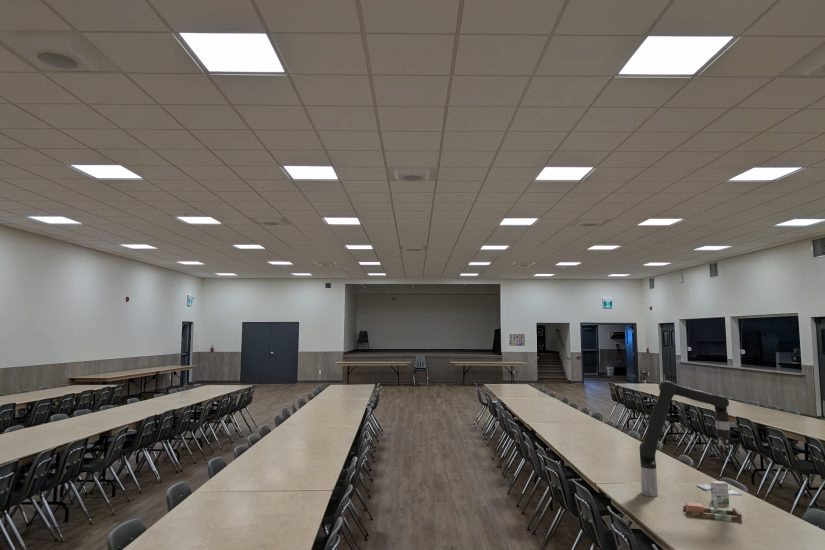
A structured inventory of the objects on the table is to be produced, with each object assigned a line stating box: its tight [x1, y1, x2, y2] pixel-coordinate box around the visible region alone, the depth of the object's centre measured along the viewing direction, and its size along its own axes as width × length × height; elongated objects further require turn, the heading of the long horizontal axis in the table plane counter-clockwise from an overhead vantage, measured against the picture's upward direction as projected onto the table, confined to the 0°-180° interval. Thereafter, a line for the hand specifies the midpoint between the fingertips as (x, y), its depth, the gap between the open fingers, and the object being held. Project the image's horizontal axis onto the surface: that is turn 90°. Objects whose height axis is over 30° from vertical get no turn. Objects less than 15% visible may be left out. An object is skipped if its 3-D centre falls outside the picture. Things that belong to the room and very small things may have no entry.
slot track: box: [682, 504, 743, 523], centre depth 284 cm, size 27×11×4 cm, turn 72°
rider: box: [685, 501, 705, 513], centre depth 287 cm, size 8×6×6 cm
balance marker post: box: [712, 498, 719, 509], centre depth 292 cm, size 2×2×7 cm
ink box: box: [709, 480, 730, 504], centre depth 309 cm, size 8×5×12 cm, turn 93°
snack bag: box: [695, 484, 742, 496], centre depth 330 cm, size 19×20×2 cm
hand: (724, 454), depth 310 cm, fingers open, 8 cm apart
